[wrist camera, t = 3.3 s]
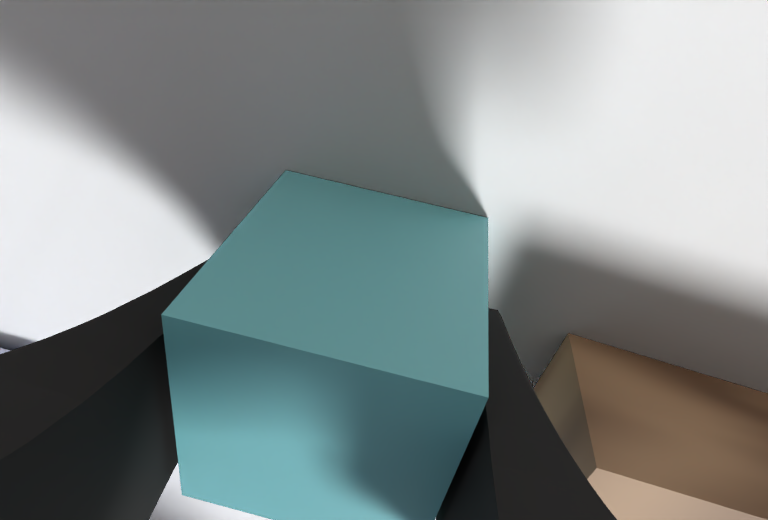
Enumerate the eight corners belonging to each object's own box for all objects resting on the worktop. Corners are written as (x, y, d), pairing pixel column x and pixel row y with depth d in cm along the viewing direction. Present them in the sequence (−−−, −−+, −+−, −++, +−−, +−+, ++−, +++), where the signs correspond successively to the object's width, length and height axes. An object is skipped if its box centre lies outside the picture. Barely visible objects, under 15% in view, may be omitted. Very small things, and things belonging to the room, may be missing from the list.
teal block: (276, 321, 13) (182, 494, 9) (285, 170, 11) (160, 314, 7) (439, 363, 13) (417, 558, 9) (487, 217, 11) (488, 397, 6)
